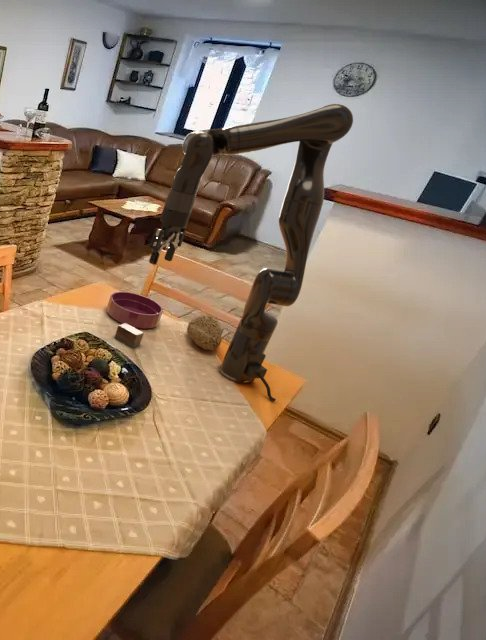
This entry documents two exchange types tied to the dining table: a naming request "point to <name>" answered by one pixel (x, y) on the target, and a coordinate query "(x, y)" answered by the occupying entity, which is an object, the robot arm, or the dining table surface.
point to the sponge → (206, 332)
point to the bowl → (134, 310)
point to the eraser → (129, 335)
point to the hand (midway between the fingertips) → (160, 261)
